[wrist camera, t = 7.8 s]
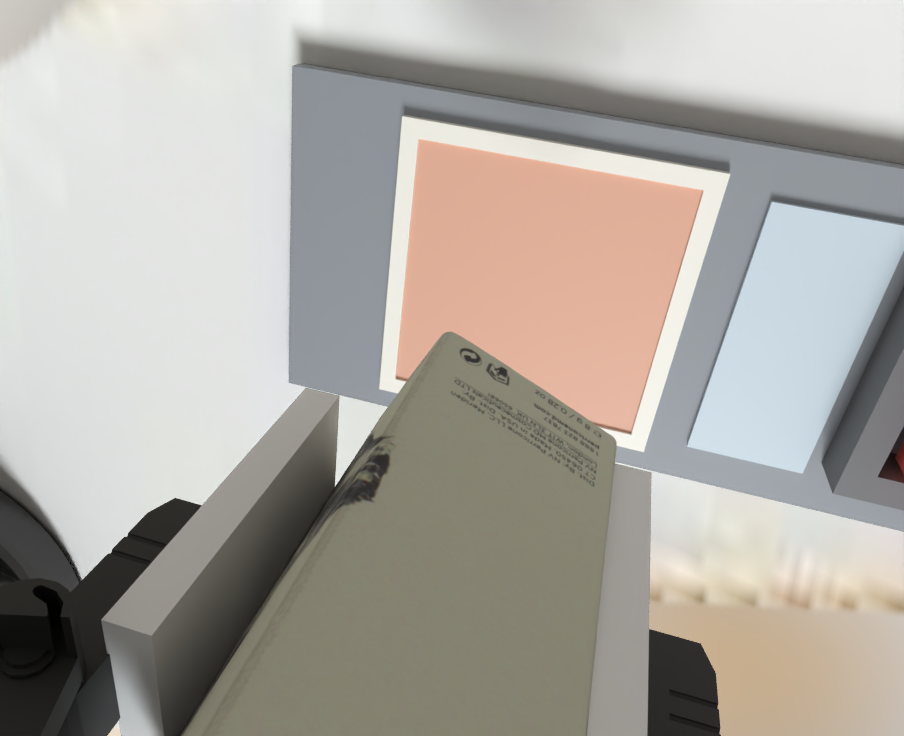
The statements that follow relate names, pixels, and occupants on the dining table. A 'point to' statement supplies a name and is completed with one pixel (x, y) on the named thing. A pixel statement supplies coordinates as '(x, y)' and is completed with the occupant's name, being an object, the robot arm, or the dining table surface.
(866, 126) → the dining table surface
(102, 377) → the dining table surface
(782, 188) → the picture board
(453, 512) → the box
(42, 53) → the dining table surface
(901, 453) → the button
